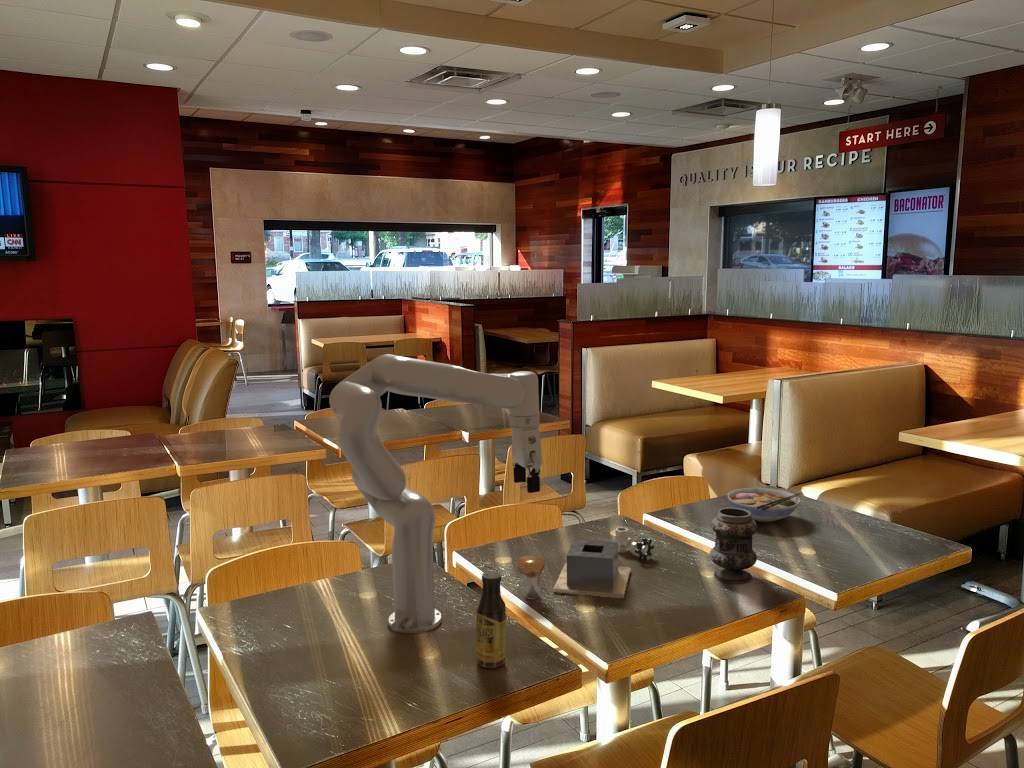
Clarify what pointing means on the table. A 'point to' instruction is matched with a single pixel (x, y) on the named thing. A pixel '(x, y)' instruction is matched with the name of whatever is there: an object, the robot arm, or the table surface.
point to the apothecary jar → (733, 545)
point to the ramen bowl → (764, 503)
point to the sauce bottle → (491, 623)
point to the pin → (531, 574)
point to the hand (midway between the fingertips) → (526, 486)
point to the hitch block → (593, 570)
